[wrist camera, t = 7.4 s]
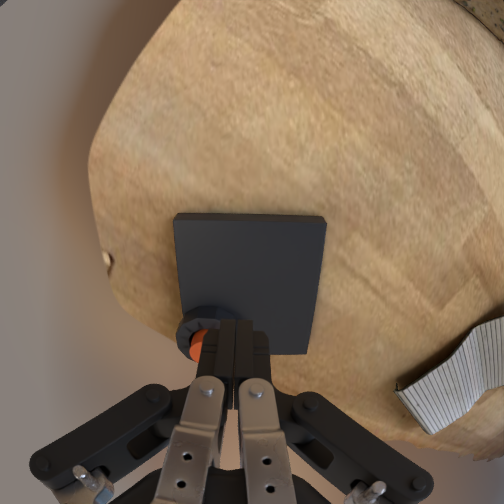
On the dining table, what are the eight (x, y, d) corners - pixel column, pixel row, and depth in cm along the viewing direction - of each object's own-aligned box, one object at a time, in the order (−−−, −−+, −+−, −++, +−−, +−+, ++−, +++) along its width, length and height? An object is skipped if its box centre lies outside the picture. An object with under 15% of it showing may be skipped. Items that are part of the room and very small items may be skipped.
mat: (388, 380, 34) (398, 406, 30) (521, 278, 27) (541, 297, 23) (424, 428, 42) (431, 447, 37) (521, 358, 35) (533, 374, 31)
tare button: (194, 351, 27) (191, 364, 25) (191, 327, 26) (187, 340, 24) (225, 353, 27) (224, 366, 25) (224, 329, 26) (223, 342, 24)
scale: (186, 340, 30) (180, 363, 27) (172, 212, 24) (160, 228, 21) (304, 343, 31) (308, 367, 27) (322, 216, 24) (332, 232, 21)
